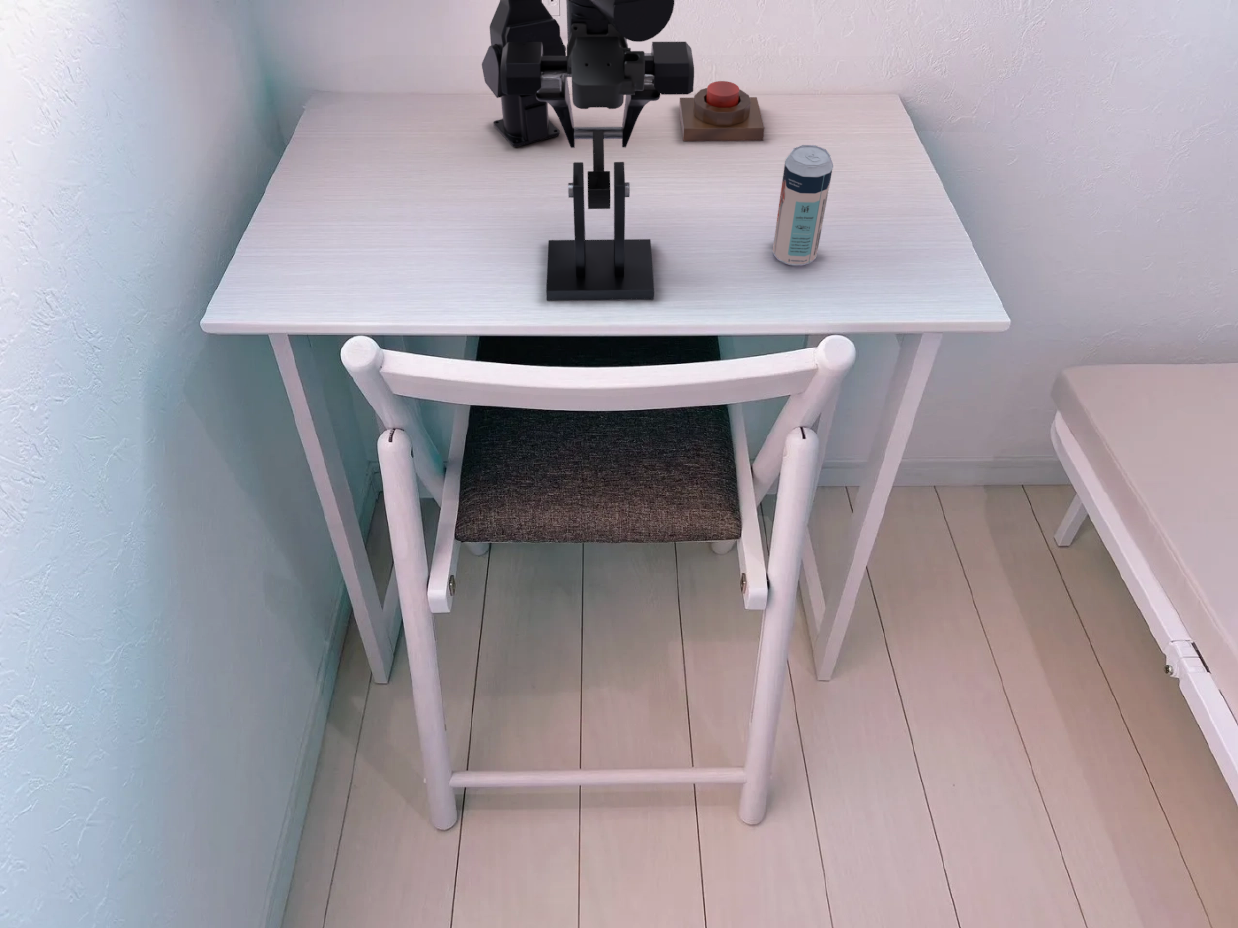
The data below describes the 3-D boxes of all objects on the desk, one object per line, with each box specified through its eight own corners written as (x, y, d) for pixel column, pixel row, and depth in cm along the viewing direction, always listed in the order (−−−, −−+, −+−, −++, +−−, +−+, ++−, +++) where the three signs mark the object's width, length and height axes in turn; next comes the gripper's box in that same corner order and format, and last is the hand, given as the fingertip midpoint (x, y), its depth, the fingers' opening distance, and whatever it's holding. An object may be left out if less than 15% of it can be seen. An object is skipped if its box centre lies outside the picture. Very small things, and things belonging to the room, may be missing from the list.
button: (707, 109, 121) (708, 96, 120) (704, 94, 124) (705, 81, 123) (739, 109, 122) (741, 96, 120) (736, 94, 124) (737, 80, 123)
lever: (574, 139, 103) (573, 119, 101) (622, 139, 103) (622, 119, 101) (573, 209, 96) (573, 189, 94) (624, 209, 96) (625, 189, 95)
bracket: (549, 249, 107) (543, 150, 98) (650, 248, 107) (653, 149, 98) (546, 300, 100) (540, 199, 92) (653, 299, 101) (657, 198, 92)
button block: (683, 141, 122) (684, 114, 120) (679, 110, 128) (680, 84, 125) (762, 140, 122) (766, 114, 120) (755, 109, 128) (758, 83, 125)
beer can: (797, 238, 108) (813, 138, 99) (825, 260, 105) (845, 158, 97) (762, 252, 106) (776, 151, 98) (791, 274, 104) (807, 172, 95)
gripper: (490, 35, 86) (505, 190, 97) (703, 34, 86) (692, 189, 98) (498, -20, 93) (510, 130, 105) (694, -20, 93) (684, 130, 105)
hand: (598, 145), depth 103 cm, fingers closed on lever, 5 cm apart
